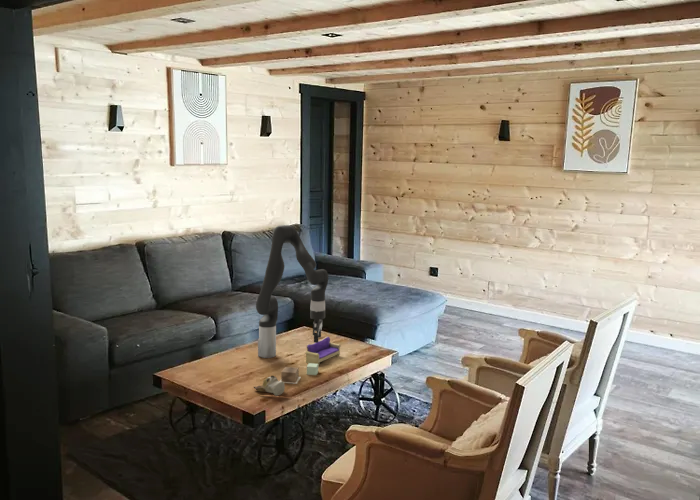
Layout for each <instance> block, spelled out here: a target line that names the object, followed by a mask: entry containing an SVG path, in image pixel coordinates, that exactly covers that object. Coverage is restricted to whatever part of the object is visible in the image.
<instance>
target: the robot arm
mask: <svg viewBox="0 0 700 500" xmlns="http://www.w3.org/2000/svg"><path fill="white" fill-rule="evenodd" d="M286 243H287V244H288V243H290V245H291V246H292V247H293V248H294V251H295V257H296V261H297V262H298V264H299V265H300V267H301V268H302V269H303V271H304V273H305V276H306V279H307V281H308V282H309V283H310V285H316V286H315V287H313V288H312V289H311V290H310V306H309V307H310V310H309V311H310V313H309V314H310V319H312V320H314V321H313V323H312V335H313V343H318V341H319V339H321V338H322V328H323V320H324V319H325V318H326V290H327V286H328V283H329V273H328V271H327V270H326V269H324V268H321V269H316V268H317V263H316V261H315V259H314V258H313V257H312V255H311V254H310V253H309V252H308V250H307V247H305V245H304V243H303V241H302V238H301V237H300V235H299V234H298V231H297V229H296V228H295V227H294V226H293V225H290V224H286V225H285V224H284V225H282V224H281V225H277V226H276V227H275V228H274V230H273V233H272V239H271V247H270V251H269V257H268V261H267V265H266V268H265V274H264V277H263V281H262V285H261V288H260V292H259V293H258V294H259V295H258V297H257V299H256V302H255V307H256V308H255V309H256V311H257V313H258V314H259V315H262V317H261V318H260V319H259V321H258V339H257V357H260V358H263V359H271V358H274V357H276V355H277V322H278V314H279V313H278V312H279V302H278V299H277V298H276V297H275V296H273V293H274V291H275V289H276V288H277V287H278V285H279V283H280V281H281V280H282V278H283V275H284V271H285V261H284V258H283V255H282V251H283V246H284V244H286Z"/></svg>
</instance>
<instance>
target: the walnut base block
mask: <svg viewBox="0 0 700 500" xmlns="http://www.w3.org/2000/svg"><path fill="white" fill-rule="evenodd" d="M280 373H281V374H280V375H281V377H280V380H281V382H292V383H291V384H294V383H296V381H297V379H298V378H299V377H300V375H299V374H300V369H299V367H292V366H289V367H288V366H284V368H283V369H282V370H281V372H280Z"/></svg>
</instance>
